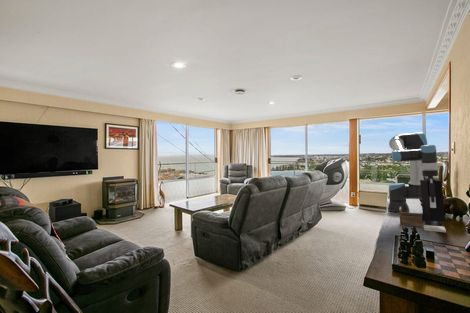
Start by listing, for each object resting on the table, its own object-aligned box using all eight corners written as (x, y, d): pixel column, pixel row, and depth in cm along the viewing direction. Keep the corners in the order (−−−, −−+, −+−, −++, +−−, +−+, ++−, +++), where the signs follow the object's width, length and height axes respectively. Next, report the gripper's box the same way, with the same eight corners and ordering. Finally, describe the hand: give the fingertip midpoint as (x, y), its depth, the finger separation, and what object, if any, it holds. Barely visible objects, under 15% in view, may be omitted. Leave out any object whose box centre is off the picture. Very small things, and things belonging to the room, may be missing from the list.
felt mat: (423, 226, 153) (423, 224, 153) (444, 228, 147) (444, 226, 147) (424, 230, 145) (424, 228, 145) (446, 232, 139) (446, 230, 139)
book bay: (400, 220, 169) (399, 206, 170) (422, 222, 162) (420, 207, 163) (400, 224, 159) (399, 209, 160) (422, 226, 152) (421, 211, 153)
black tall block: (445, 222, 141) (441, 174, 143) (430, 221, 143) (426, 175, 144) (437, 219, 149) (433, 174, 150) (422, 219, 151) (419, 174, 152)
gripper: (421, 169, 158) (424, 203, 158) (422, 170, 141) (425, 208, 140) (436, 169, 154) (438, 203, 153) (439, 170, 136) (442, 209, 135)
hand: (432, 206), depth 146 cm, fingers closed on black tall block, 9 cm apart
